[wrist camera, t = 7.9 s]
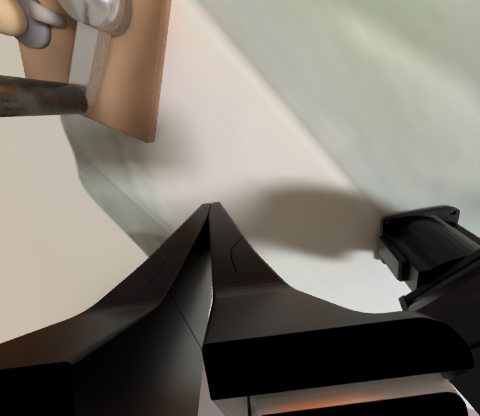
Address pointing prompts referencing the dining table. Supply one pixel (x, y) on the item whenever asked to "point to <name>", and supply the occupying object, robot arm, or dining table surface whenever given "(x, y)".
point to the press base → (116, 63)
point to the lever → (82, 67)
